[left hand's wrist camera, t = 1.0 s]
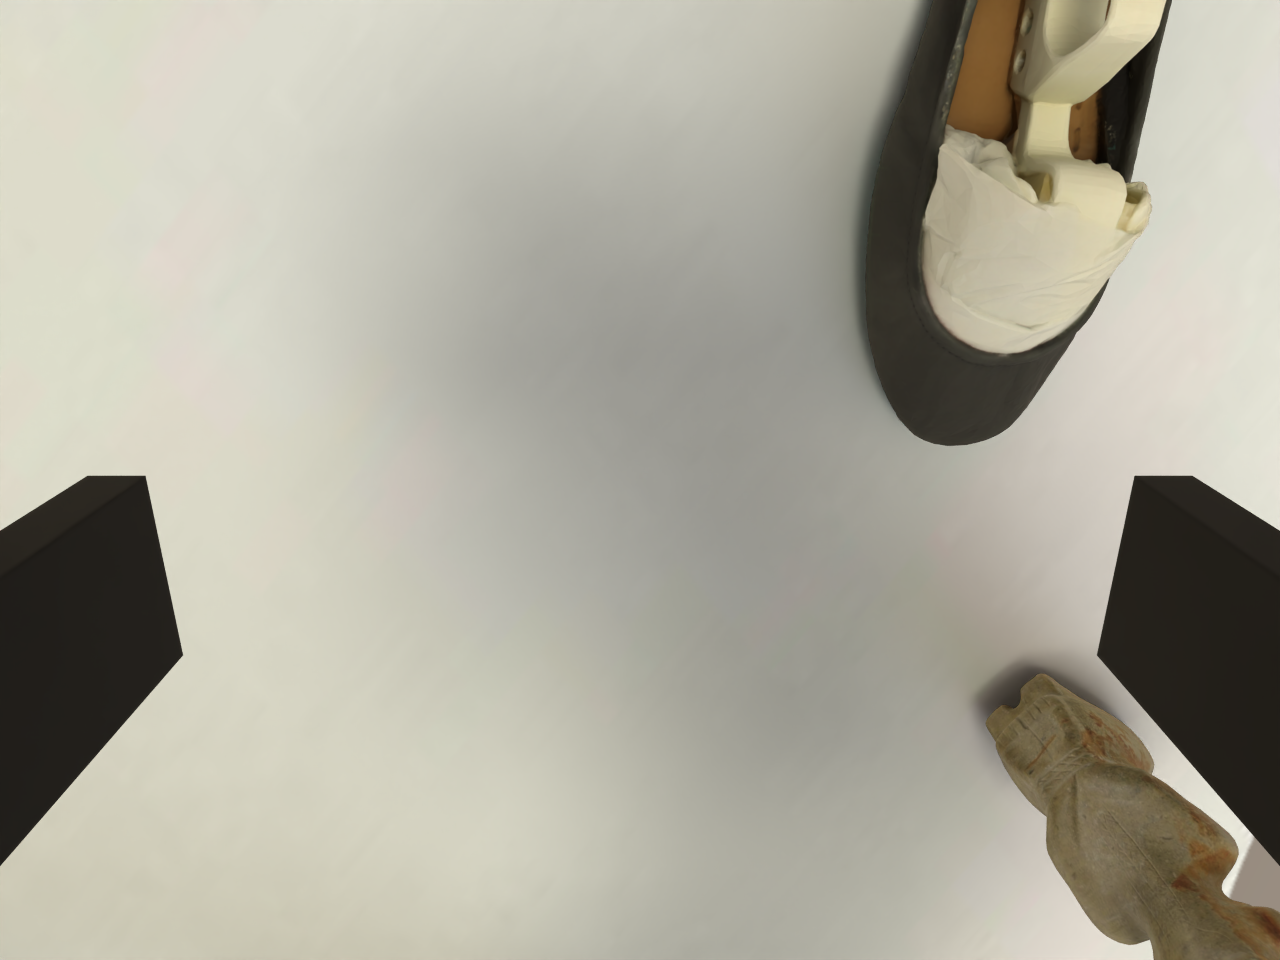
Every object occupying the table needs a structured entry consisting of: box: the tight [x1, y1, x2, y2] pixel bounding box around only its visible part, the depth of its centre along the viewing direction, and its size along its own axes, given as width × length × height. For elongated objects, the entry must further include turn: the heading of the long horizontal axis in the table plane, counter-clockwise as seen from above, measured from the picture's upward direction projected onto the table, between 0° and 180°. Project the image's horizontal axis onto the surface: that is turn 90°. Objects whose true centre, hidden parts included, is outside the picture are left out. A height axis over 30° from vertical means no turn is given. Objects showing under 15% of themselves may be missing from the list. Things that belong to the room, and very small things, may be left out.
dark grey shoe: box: [866, 0, 1172, 446], centre depth 28 cm, size 8×24×8 cm, turn 178°
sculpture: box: [986, 673, 1280, 960], centre depth 34 cm, size 6×7×15 cm
